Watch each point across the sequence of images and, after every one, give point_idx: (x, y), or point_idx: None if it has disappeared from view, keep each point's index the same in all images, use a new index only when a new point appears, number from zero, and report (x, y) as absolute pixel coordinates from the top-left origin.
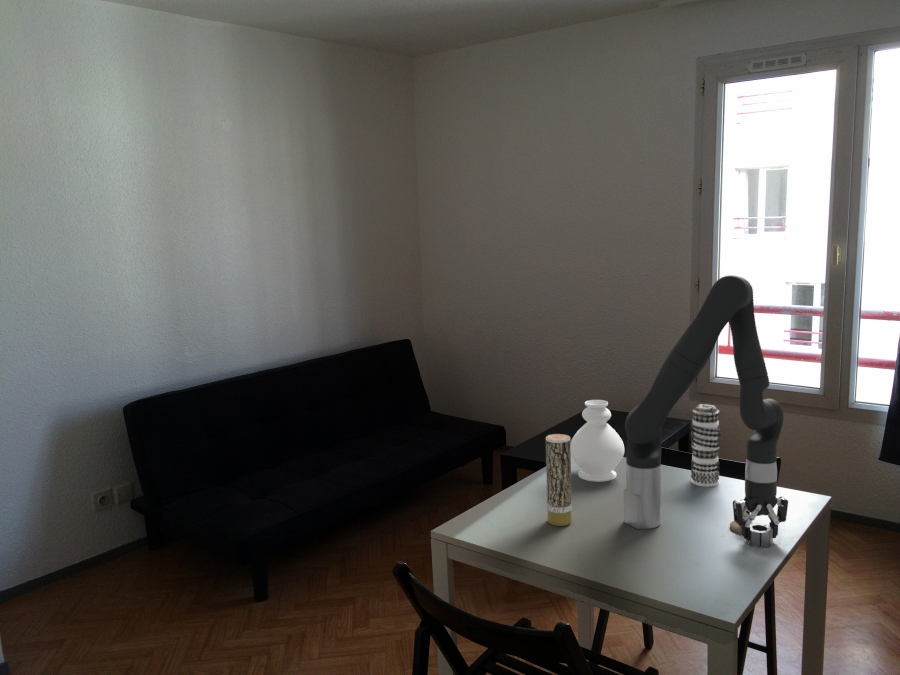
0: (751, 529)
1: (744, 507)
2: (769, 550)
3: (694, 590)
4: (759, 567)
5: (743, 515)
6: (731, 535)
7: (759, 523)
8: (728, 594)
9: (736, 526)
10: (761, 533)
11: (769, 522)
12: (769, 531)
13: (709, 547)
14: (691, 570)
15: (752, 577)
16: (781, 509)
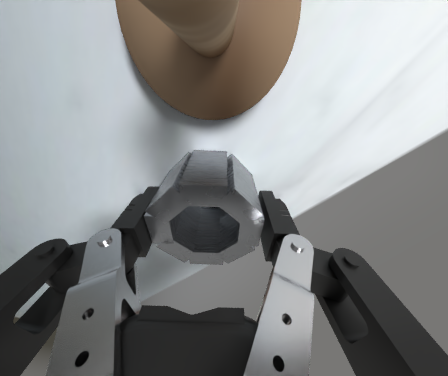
0: (160, 237)
1: (150, 4)
2: None
3: (29, 301)
4: (155, 276)
5: (176, 34)
6: (121, 105)
7: (234, 192)
8: None
9: (155, 29)
10: (190, 261)
11: (273, 231)
12: (228, 259)
13: (28, 187)
14: (6, 266)
15: None
16: (365, 373)
